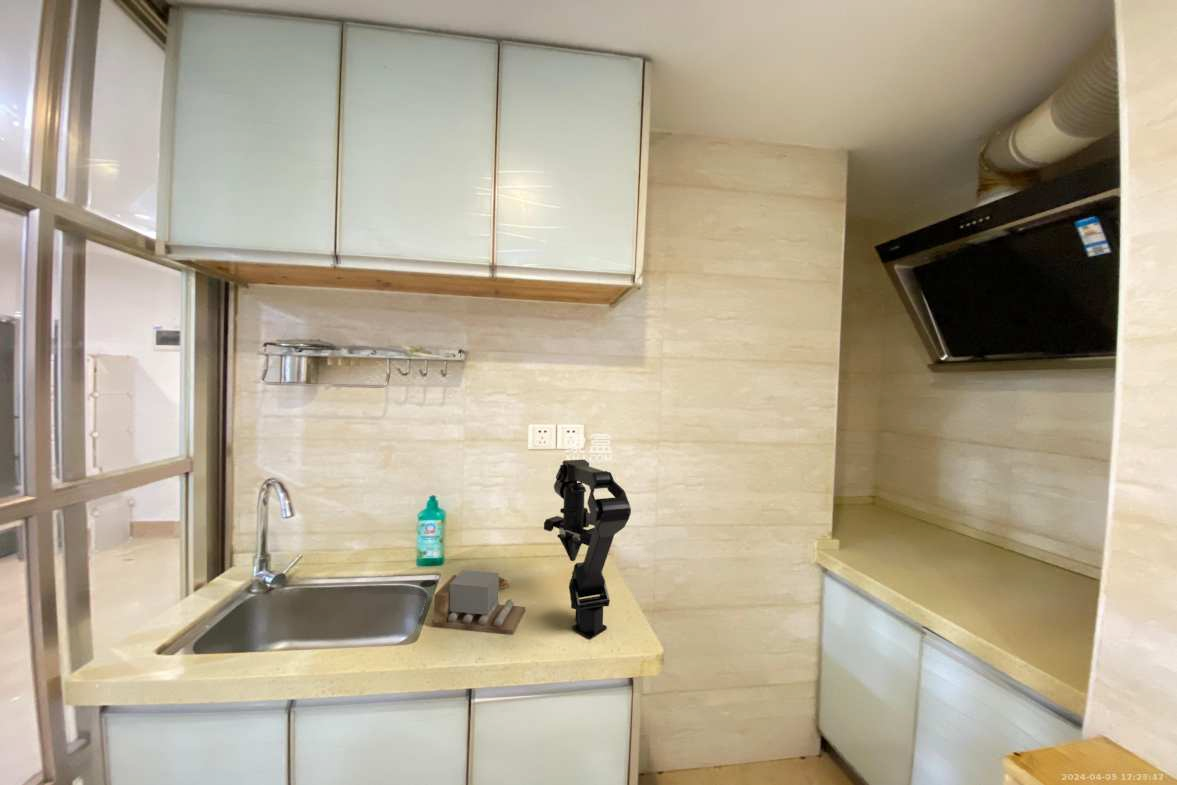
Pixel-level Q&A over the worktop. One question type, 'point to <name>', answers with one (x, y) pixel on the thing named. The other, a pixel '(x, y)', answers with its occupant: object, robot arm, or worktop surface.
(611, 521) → the robot arm
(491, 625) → the roller bed
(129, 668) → the worktop surface
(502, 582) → the shard
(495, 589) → the gray rectangular block
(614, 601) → the worktop surface
